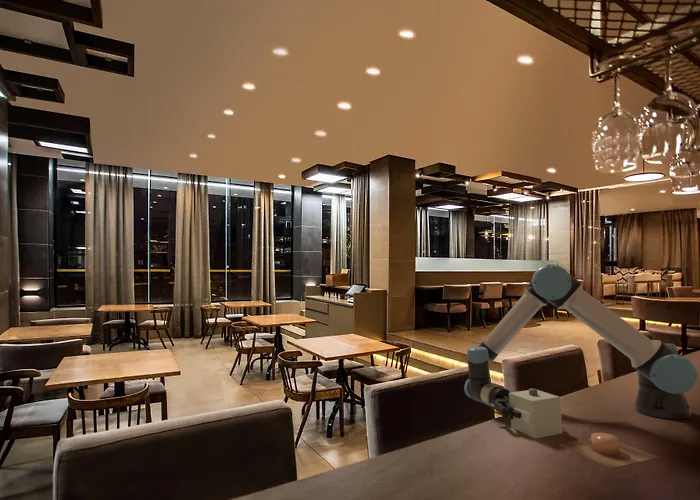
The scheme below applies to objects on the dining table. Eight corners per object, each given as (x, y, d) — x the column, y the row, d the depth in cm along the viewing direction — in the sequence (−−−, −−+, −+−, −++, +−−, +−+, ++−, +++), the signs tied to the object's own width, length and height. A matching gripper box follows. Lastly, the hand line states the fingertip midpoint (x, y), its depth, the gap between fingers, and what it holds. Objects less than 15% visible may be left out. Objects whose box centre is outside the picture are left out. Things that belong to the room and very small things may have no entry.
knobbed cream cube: (537, 424, 129) (534, 384, 130) (562, 435, 120) (558, 391, 121) (511, 429, 126) (508, 387, 127) (534, 440, 117) (531, 395, 118)
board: (602, 440, 116) (602, 435, 116) (659, 462, 101) (659, 457, 101) (557, 449, 112) (557, 444, 112) (610, 473, 96) (609, 468, 97)
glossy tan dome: (609, 445, 110) (607, 432, 110) (625, 454, 104) (623, 440, 104) (587, 446, 109) (586, 433, 110) (602, 456, 103) (600, 441, 104)
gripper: (525, 404, 144) (577, 423, 122) (469, 413, 137) (514, 435, 116) (523, 382, 144) (574, 398, 123) (467, 390, 138) (512, 408, 116)
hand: (545, 416), depth 119 cm, fingers open, 10 cm apart
